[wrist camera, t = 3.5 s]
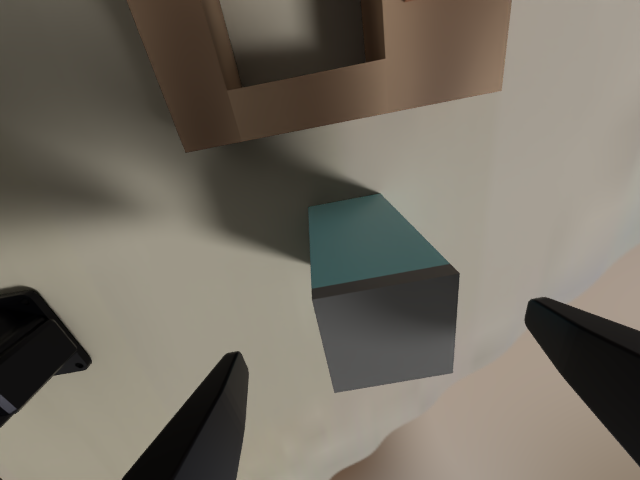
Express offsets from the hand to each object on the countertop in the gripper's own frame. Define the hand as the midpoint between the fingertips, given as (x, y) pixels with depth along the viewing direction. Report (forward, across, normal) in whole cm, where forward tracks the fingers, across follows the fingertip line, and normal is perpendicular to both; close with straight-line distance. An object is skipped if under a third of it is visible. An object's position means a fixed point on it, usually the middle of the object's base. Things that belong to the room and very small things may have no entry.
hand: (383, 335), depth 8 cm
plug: (+8, 0, 0) cm, 8 cm away
